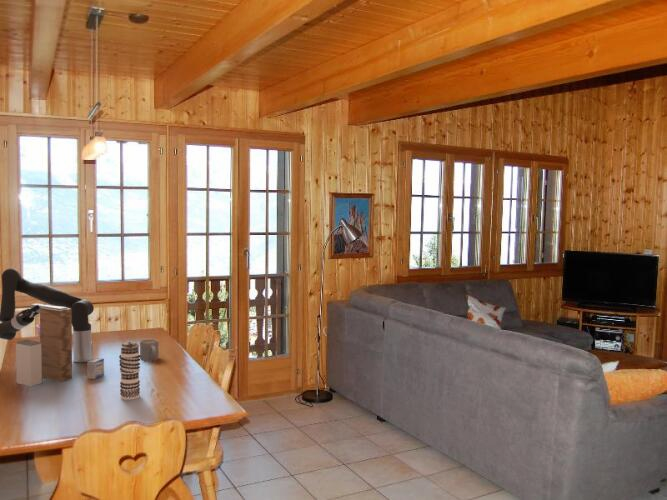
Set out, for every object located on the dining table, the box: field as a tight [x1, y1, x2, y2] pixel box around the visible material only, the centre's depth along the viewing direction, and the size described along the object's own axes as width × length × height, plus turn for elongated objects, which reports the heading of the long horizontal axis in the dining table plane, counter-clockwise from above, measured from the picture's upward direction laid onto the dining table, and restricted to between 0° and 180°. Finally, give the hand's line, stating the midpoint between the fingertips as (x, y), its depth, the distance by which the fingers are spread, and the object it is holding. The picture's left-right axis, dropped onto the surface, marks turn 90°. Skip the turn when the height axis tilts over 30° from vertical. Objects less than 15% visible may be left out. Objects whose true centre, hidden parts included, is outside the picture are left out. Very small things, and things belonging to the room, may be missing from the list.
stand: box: [39, 307, 73, 382], centre depth 300 cm, size 7×14×35 cm, turn 64°
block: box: [15, 339, 43, 387], centre depth 291 cm, size 6×10×20 cm, turn 64°
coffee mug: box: [139, 338, 160, 361], centre depth 339 cm, size 13×10×10 cm
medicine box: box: [86, 357, 105, 380], centre depth 304 cm, size 8×4×9 cm, turn 168°
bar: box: [29, 303, 67, 313], centre depth 301 cm, size 4×21×4 cm, turn 63°
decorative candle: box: [118, 340, 141, 400], centre depth 274 cm, size 9×9×25 cm
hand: (42, 305), depth 302 cm, fingers closed on bar, 3 cm apart
